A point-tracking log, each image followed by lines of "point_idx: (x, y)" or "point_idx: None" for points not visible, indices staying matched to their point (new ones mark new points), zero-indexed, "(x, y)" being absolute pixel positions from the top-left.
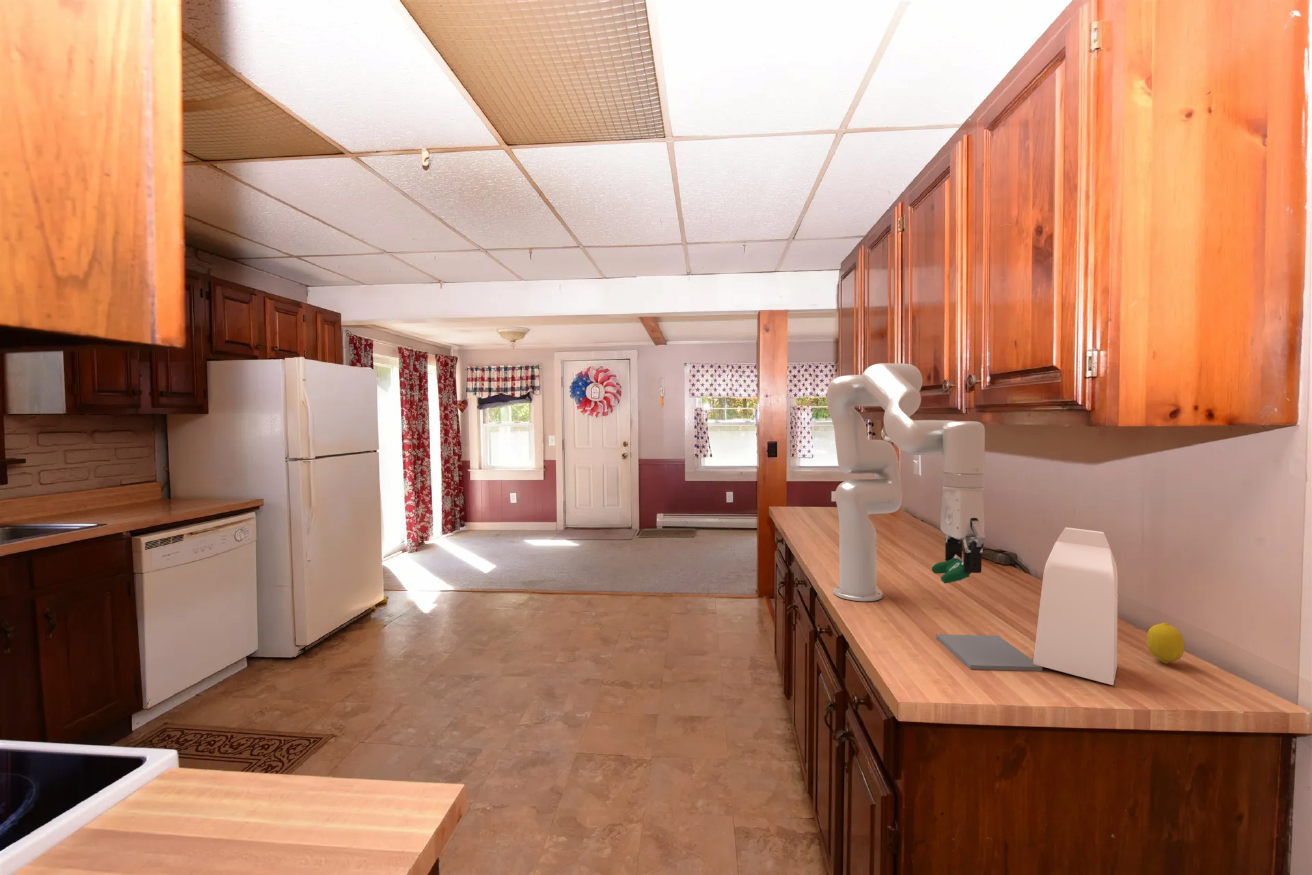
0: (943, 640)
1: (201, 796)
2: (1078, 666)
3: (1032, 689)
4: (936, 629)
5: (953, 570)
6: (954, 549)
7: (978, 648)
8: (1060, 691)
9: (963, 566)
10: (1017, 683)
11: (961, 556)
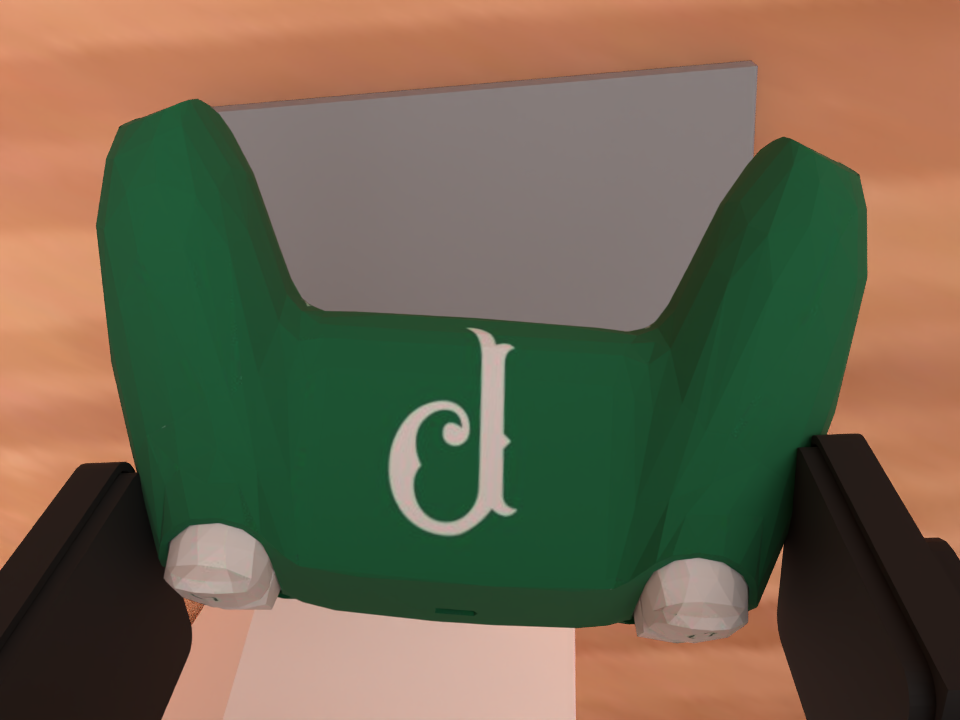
0: (626, 80)
1: None
2: (205, 619)
3: (15, 337)
4: (939, 122)
5: (155, 337)
6: (848, 702)
7: (493, 267)
8: (42, 447)
9: (84, 504)
10: (67, 295)
11: (797, 688)
